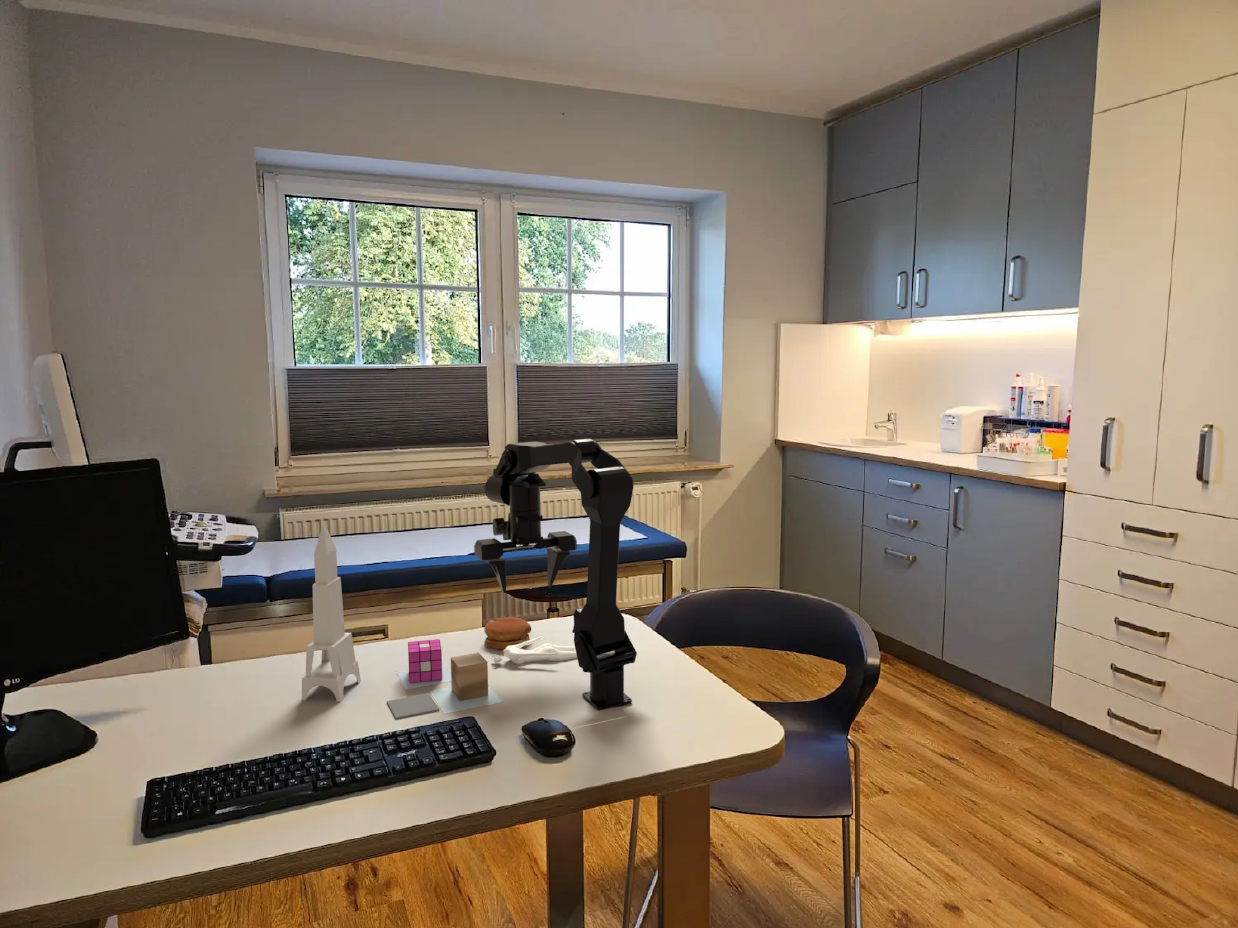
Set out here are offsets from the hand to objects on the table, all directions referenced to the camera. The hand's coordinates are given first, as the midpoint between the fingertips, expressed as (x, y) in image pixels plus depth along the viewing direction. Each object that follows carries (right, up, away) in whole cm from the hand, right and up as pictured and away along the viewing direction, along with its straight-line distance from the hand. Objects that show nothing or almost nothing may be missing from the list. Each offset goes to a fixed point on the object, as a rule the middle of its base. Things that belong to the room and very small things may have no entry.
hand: (527, 589), depth 155 cm
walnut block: (-8, -16, -15) cm, 23 cm away
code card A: (-9, -16, -16) cm, 24 cm away
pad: (-17, -16, -20) cm, 31 cm away
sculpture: (-32, -16, -13) cm, 39 cm away
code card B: (-18, -15, -7) cm, 24 cm away
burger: (-5, -13, +10) cm, 17 cm away
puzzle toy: (-18, -15, -7) cm, 24 cm away
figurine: (+5, -14, +3) cm, 15 cm away
